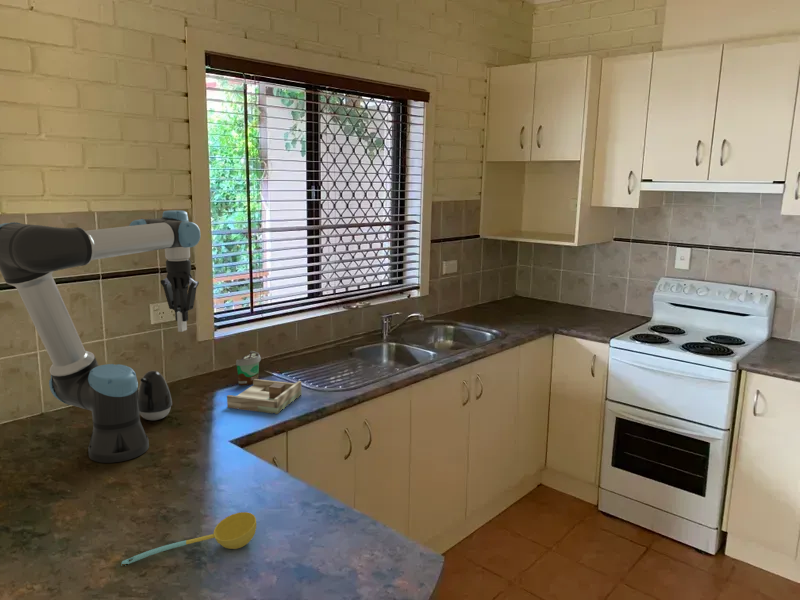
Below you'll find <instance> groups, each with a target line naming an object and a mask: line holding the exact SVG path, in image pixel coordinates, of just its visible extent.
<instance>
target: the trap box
mask: <svg viewBox="0 0 800 600" xmlns="http://www.w3.org/2000/svg"><path fill="white" fill-rule="evenodd" d="M274 383H280V384H285V386H286V391H284V392H283V393H282V394H280V395H279V396H277V397H276V398H275V399H272V398H269V386H271V385H272V384H274ZM300 395H301V396H302V381H300V380H298V381H296V382H295V383H294V382H285V381H278V380H277V381H276V380H268V379H259V378H258V379H253V384H252V385H250V387H248V388H246V389H245V390H243V391H242V392H240V393H239V394H237V395H230V394H228V395H226V404H227V408H228V409H235V410H242V411H243V410H245V411H251V412H256V413H257V412H258V413H265V414H267V413H268V414H273V413H275V415H278V414H279V413H281V412H282V411H283V410H284V409H286V408H287V407H288V406H289V405H288V404H290V403H291V402H292V401H293V402H294V400H295V399H296V398H297V399H299V398H300V397H301V396H300ZM299 396H300V397H299ZM297 399H296V400H297ZM296 400H295V401H296ZM293 402H292V403H293ZM292 403H291V404H292ZM291 404H290V405H291ZM287 405H288V406H287ZM286 406H287V407H286ZM285 407H286V408H285ZM282 409H283V410H282ZM281 410H282V411H281ZM280 411H281V412H280Z"/></svg>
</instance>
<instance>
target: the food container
mask: <svg viewBox="0 0 800 600" xmlns="http://www.w3.org/2000/svg"><path fill="white" fill-rule="evenodd" d="M261 360H262V357H261V355H260V353H259V352H257V351H254V350H249V354H247V355H244V356H243V357H242V358H241V359H236V361H235V366H236V370H237V378H238V379H237V382H238V386H239V387H241V386H242V387H243V386H253V379H259V372H260V371H259V370H260V369H259V368H260V362H261Z"/></svg>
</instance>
